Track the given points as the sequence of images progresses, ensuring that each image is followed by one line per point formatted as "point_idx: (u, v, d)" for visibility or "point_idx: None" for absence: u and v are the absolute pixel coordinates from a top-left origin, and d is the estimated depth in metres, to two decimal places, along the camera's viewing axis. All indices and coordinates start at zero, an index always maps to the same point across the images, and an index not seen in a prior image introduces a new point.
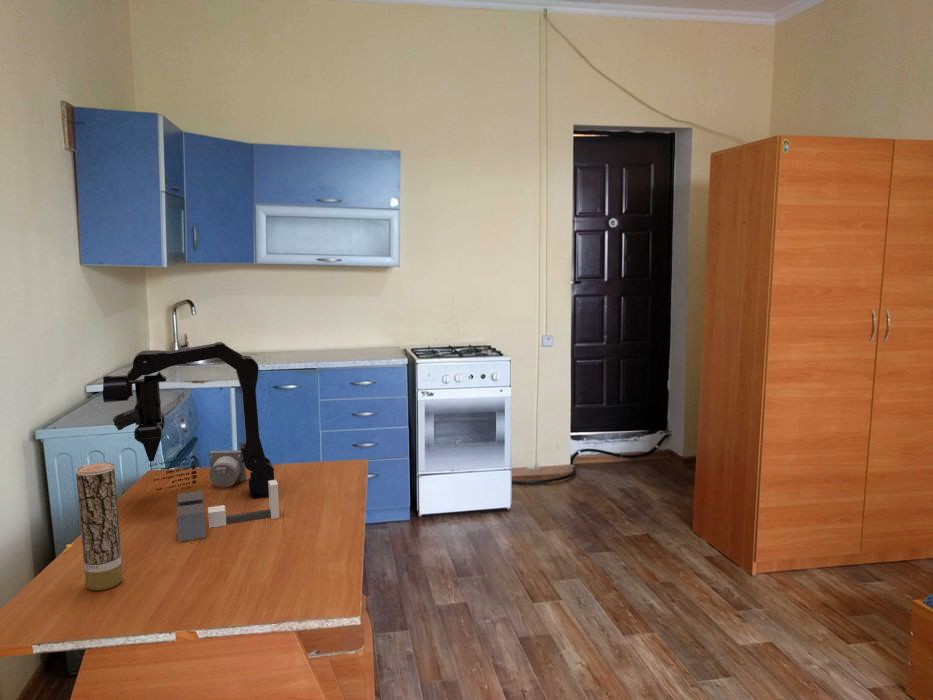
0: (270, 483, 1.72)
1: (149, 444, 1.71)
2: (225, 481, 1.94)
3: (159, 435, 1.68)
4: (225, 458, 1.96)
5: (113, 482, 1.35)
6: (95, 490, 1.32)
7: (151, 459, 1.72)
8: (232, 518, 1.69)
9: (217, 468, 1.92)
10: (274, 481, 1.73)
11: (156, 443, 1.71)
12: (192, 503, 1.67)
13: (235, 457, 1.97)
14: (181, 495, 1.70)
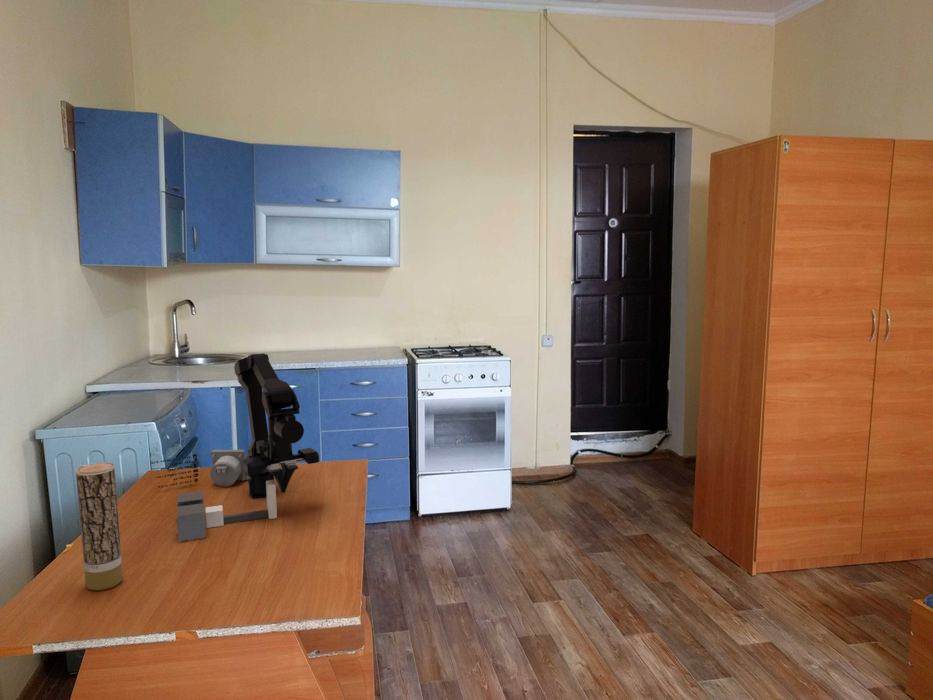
0: (268, 483, 1.72)
1: (276, 475, 1.73)
2: (226, 480, 1.95)
3: (248, 472, 1.66)
4: (226, 457, 1.96)
5: (113, 482, 1.35)
6: (95, 490, 1.32)
7: None
8: (229, 518, 1.69)
9: (217, 467, 1.93)
10: (272, 481, 1.73)
11: (276, 476, 1.71)
12: (192, 503, 1.67)
13: (236, 456, 1.98)
14: (181, 495, 1.70)
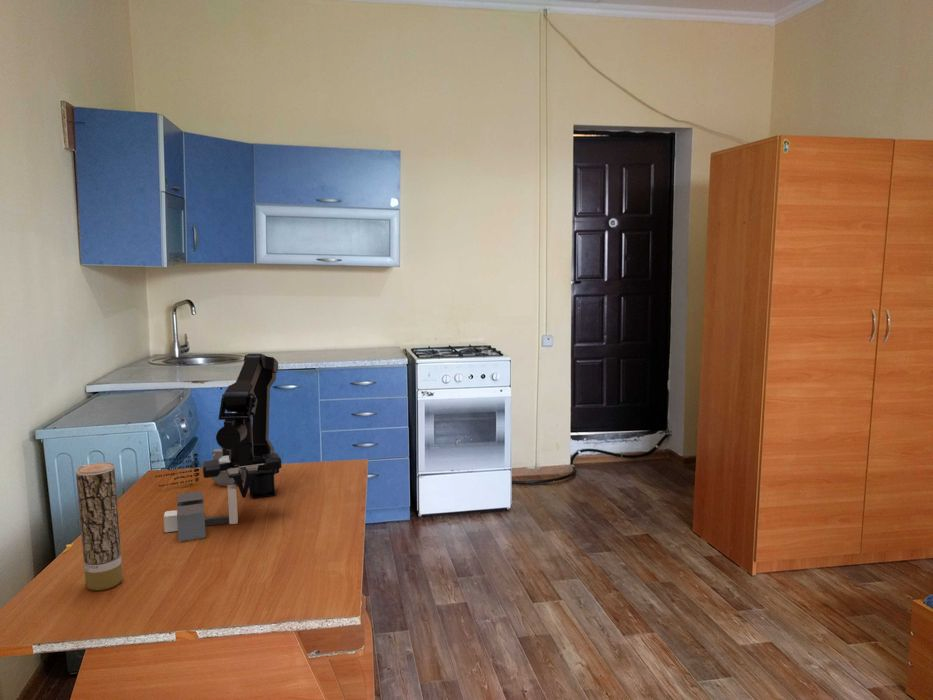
0: (229, 487, 1.68)
1: None
2: (226, 480, 1.95)
3: (204, 476, 1.63)
4: (227, 457, 1.97)
5: (113, 482, 1.35)
6: (95, 490, 1.32)
7: None
8: None
9: None
10: (233, 486, 1.70)
11: None
12: (192, 503, 1.67)
13: None
14: (181, 495, 1.70)
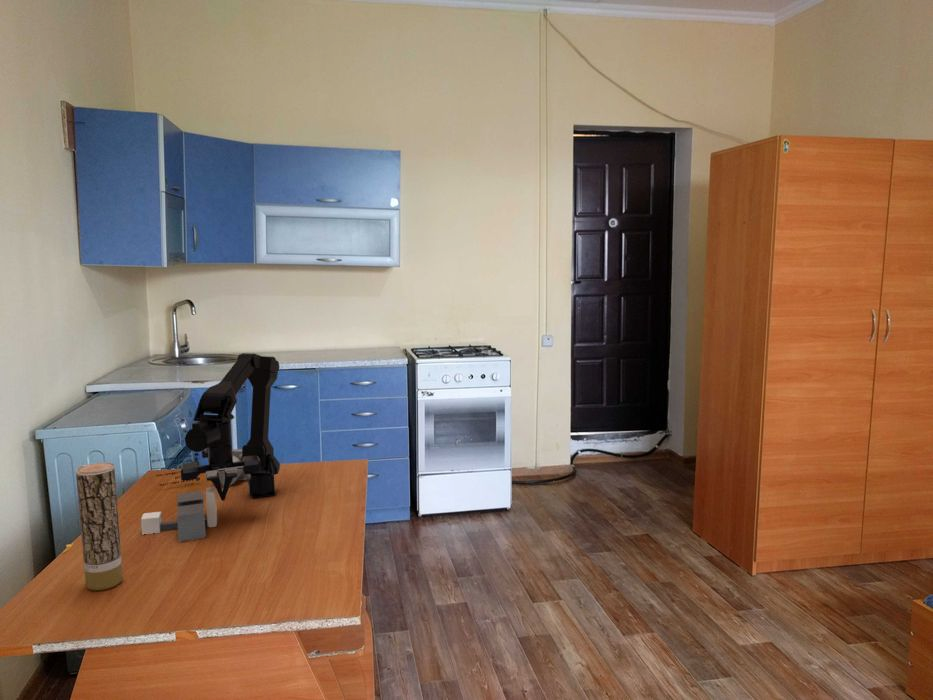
0: (207, 490, 1.67)
1: None
2: None
3: (181, 478, 1.61)
4: None
5: (113, 482, 1.35)
6: (95, 490, 1.32)
7: None
8: (167, 525, 1.64)
9: None
10: (212, 488, 1.68)
11: None
12: (192, 503, 1.67)
13: (237, 456, 1.99)
14: (181, 495, 1.70)
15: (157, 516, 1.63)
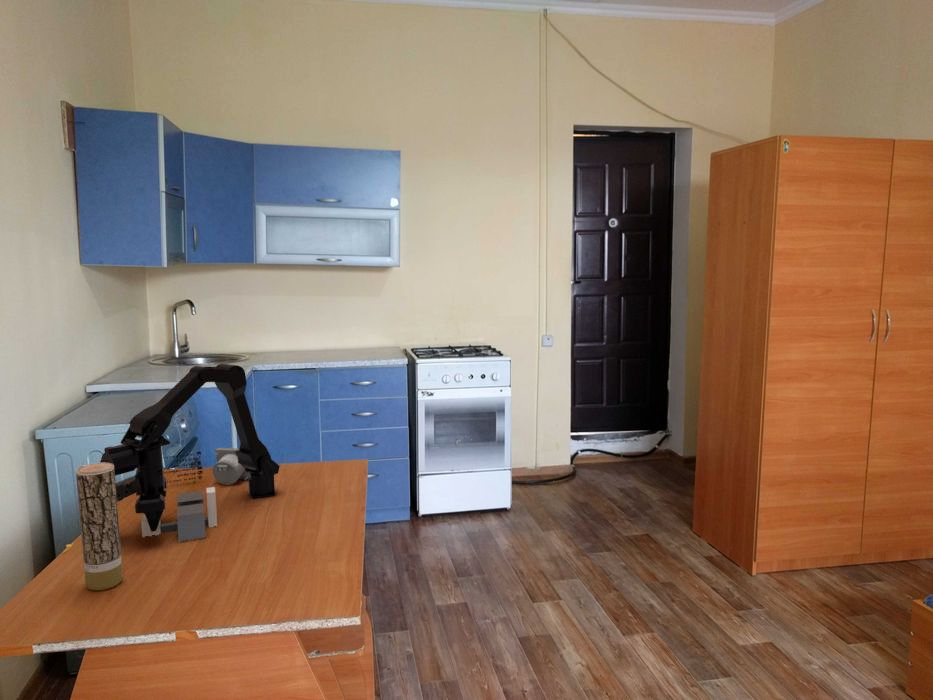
0: (207, 490, 1.66)
1: (151, 514, 1.59)
2: (227, 479, 1.97)
3: (162, 508, 1.54)
4: (229, 456, 1.98)
5: (113, 482, 1.35)
6: (95, 490, 1.32)
7: (153, 529, 1.60)
8: (167, 527, 1.63)
9: (219, 465, 1.94)
10: (212, 488, 1.68)
11: (159, 512, 1.59)
12: (192, 503, 1.67)
13: None
14: (181, 495, 1.70)
15: None
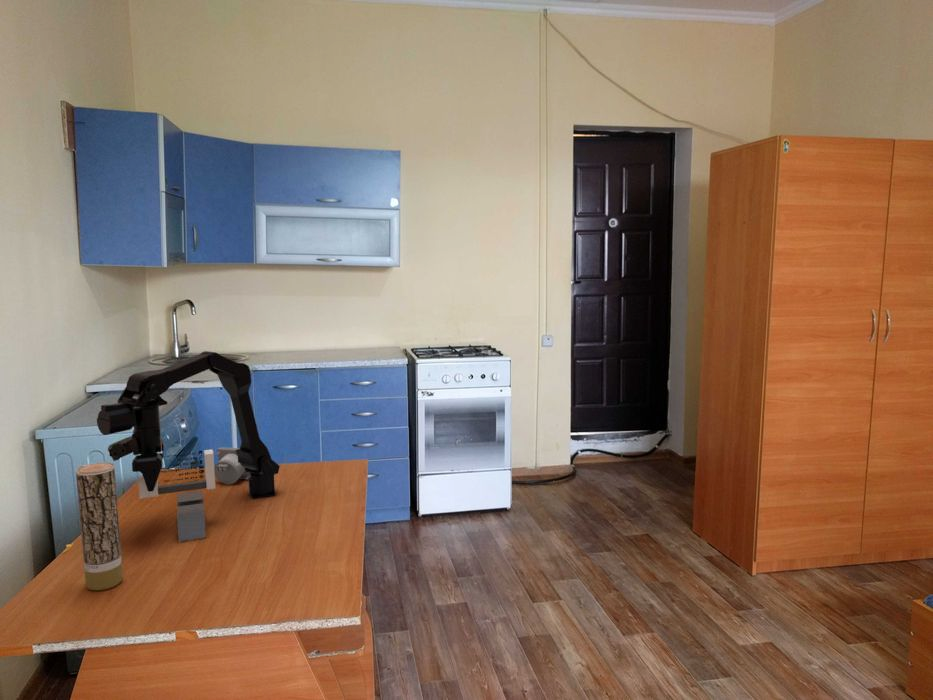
0: (205, 452, 1.65)
1: (148, 473, 1.57)
2: (228, 478, 1.97)
3: (159, 467, 1.53)
4: (230, 455, 1.98)
5: (113, 482, 1.35)
6: (95, 490, 1.32)
7: (150, 489, 1.59)
8: (165, 488, 1.62)
9: (219, 465, 1.95)
10: (210, 450, 1.66)
11: (156, 472, 1.58)
12: (192, 503, 1.67)
13: None
14: (181, 495, 1.70)
15: None
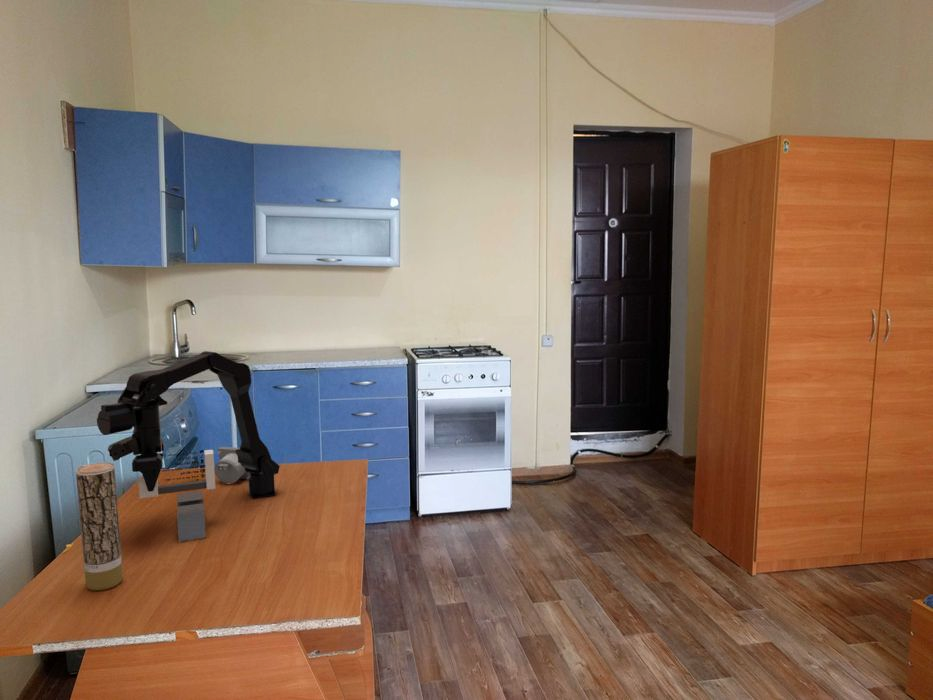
0: (206, 452, 1.65)
1: (148, 473, 1.57)
2: (228, 478, 1.97)
3: (159, 467, 1.53)
4: (230, 455, 1.99)
5: (113, 482, 1.35)
6: (95, 490, 1.32)
7: (150, 489, 1.59)
8: (165, 488, 1.62)
9: (220, 464, 1.95)
10: (210, 451, 1.66)
11: (156, 472, 1.58)
12: (192, 503, 1.67)
13: None
14: (181, 495, 1.70)
15: None
